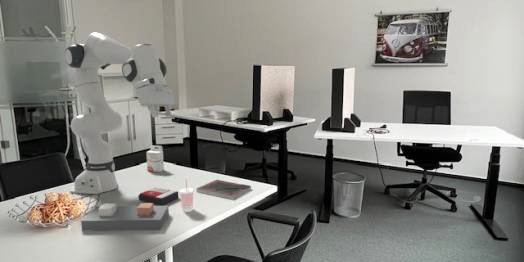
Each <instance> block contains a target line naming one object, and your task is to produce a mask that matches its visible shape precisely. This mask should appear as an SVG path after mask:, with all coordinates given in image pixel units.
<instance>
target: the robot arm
mask: <svg viewBox="0 0 524 262" xmlns="http://www.w3.org/2000/svg"><path fill="white" fill-rule="evenodd" d="M64 59H65V62H66V64H67V65H68V66H69V67H70V68H74V80H75V85H76V86H75V87H76V91H77V95H78V99H79V102H80V103H81V104H82V105H83V106H85V107H88V108H89V109H90V110H91V111H92V112H89V113H83V114H79V115H77V116H74V117H73V118H72V120H71V122H70V129H71V132H72V133H73V134H74V135H75V136H76V137H78V138H79V139H81V140H82V142H83V143H84V144H85V147H86V149H87V154H88V161H87V162H86V163H85V164H84V165H83V167H84V168H85V169H84V170H83V171H82V172H81V173H79V175H77V176H76V178H75V180H74V185H72V186H71V188H70V189H69V192H70V193H71V194H72V193H73V194H90V195H98V194H102V193H105V192H111V191H113V190H116V189H117V188H118V187H119V184H118V181H117V178H116V174H115V168H116V167H115V160H114V159H113V158H114V157H113V148H112V145H111V144H110V143H109V142H108V141H105V140H103V138H102V135H103V134H108V133H112V132H115V131H118V130H119V129H120V128H122V125H123V117H122V115H121V114H120V112H118V111H116V110H115V109H114V108H112V107H111V105H110V104H109V103H108V102H107V99H106V98H105V95H104V92H103V91H104V90H103V87H102V85H101V83H102V82H101V79H100V75H99V70H100V69H101V70H103V71H104V70H105V69H106V68H107V67H110V66H111V65H121V71H122V75H123V77H124V79H125V80H126V81H127V82H128V83H134V84H133V87H134V89H136V92H135V93H136V96H137V100H138V103H139V106H141V107H143V108H144V107H147V109H148V111H149V112H150V114H151V117H152V118H157V117H159V114H158V111H156V107H164V109H165V112H164V114H165V117H167V118H168V117H171V116H172V112H171V110H172V106H175V105H176V100H175V96H174V94H173V91H172V89H171V88H170V87H169V86H168V85H167V84H166V82H165V77H166V75H167V72H168V71H167V69H168V68H167V66H166V63H165V62H164V61H163V60H162V59H161V58H159V55H158V53H157V51H156V48H155V47H154V45H153V44H150V43H139V44H137V45H134V46H133V47H132V48H131V47H129V46H126V45H125V44H123V43H120V42H118V41H117V40H115V39H113V38H111V37H110V36H108V35H106V34H104V33H100V32H92V33H90V34H89V35H87V36H86V38H85V43H83V44H82V43H75V44H72V45H69V46H67V48H66V49H65V50H64Z"/></svg>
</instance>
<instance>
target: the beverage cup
mask: <svg viewBox="0 0 524 262" xmlns="http://www.w3.org/2000/svg"><path fill="white" fill-rule="evenodd" d="M194 191H195V189H194V188H193V187H188V179H187V178H185V187H183V188H180V189H179V191H178V192H179V195H180V203H181V210H182V212H185V213H189V212H192V211H193V210H194Z"/></svg>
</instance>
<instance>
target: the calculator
mask: <svg viewBox="0 0 524 262" xmlns="http://www.w3.org/2000/svg"><path fill="white" fill-rule="evenodd" d="M178 199H179V191H177V190H170V189H169V188H162V187H153V188H150V189H148V190H145V191H143V192H140V193H139V194H138V200H139V201H140V202H144V203H153V205H155V206H167V205H168V204H170V203H172V202H174V201H177V200H178Z"/></svg>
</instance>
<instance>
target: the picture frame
mask: <svg viewBox="0 0 524 262" xmlns="http://www.w3.org/2000/svg"><path fill="white" fill-rule="evenodd" d="M251 190H252V185H247V184H243V183H242V184H241V183H236V182H233V181H226V180H221V179H214V180H213V181H210V182H208V183H205V184H204V185H201V186H199V187H197V188H196V190H195V191H196V193H201V194H206V195H209V196H214V197H219V198H224V199H228V200H234V199H236V198H237V197H240V196H241V195H243V194H244V193H248V191H251Z"/></svg>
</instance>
